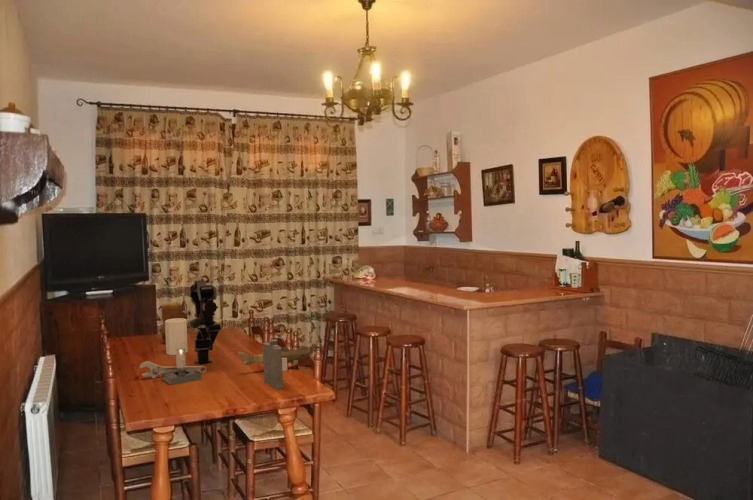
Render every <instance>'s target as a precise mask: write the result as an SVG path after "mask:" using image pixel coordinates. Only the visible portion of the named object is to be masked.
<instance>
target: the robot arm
mask: <svg viewBox="0 0 753 500" xmlns="http://www.w3.org/2000/svg"><path fill="white" fill-rule="evenodd" d="M188 290H189V291H188V294H189V295H188V296H189V298H190V302H191V303H192V304H193V305H194V308H195V309H194V310H195V318H194V319H192V320H191V319H190V321H188V323H189V326H190V327H191V329H197V333H196V336H195V338H194V339H195V340H194V343H193V351H194V352H195V353H197V355H196V356H197V360H195V361H194V362H195V363H197V364H199V365H203V364H208V363H212V360H210V351H213V349H214V348H213V345H214V343H215V341H216V339H217V337H218V334H219V332H220V331H221V330H222V325H220V323H216V321H214V316H216V314H215V312H216V311H217V309H218V306H217V304H216V302H214V300H217V297H218V296H217V294H218V293H217V290H216V289H215V287H214V286H213V285H212V284H207V283H206V282H205V280H195V281H193V284H191V286H190V287H189V289H188Z"/></svg>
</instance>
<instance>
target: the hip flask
mask: <svg viewBox="0 0 753 500" xmlns="http://www.w3.org/2000/svg"><path fill="white" fill-rule="evenodd" d="M278 341H279V340H278V338H276V339H275V338H274V339H269V341H268V342H263V343H262V351H263V362H264V364H263V382H264V383H265V384H268V385H269V386H272V387H274V389H275V390H283V389H284V380H283V377H284V374H283V372H284V371H282V350H283V348H282V347H281V346H279V345H278Z"/></svg>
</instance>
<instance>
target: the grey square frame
mask: <svg viewBox="0 0 753 500" xmlns="http://www.w3.org/2000/svg"><path fill="white" fill-rule="evenodd" d="M161 380H162V381H163V382H165V383H167V384H169V385H170V386H172V385H173V386H174V385H179V384H185V383H189V382H190V383H191V382H194V381H200V380H202V373H200V372H198V371H197V370H195V369H193V368H189V369H186V374H183V375H177V371H172V372H166V373H162V374H161Z"/></svg>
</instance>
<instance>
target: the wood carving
mask: <svg viewBox="0 0 753 500" xmlns="http://www.w3.org/2000/svg"><path fill="white" fill-rule="evenodd" d="M281 348H282V372H286V371H288V364H290V363H293V366H294V367H295V366H298V364H299V362H300V361H301V360H304V359H305V358H306V357H308V356H309V355H310V354H311V351H310V350H309V349H302V348H301V349H298V348H297V349H289V348H288V347H287V346H282V347H281ZM237 356H238V358H239V359H240V361H241V364H242V365H243V366H247V365H252V364H261V365H264V362H263V350H262V351H261V353H259V354H256V355H254V354H252V355H251V354H250V353H249V354H248V353H246V352H245V351H238V352H237Z"/></svg>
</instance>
